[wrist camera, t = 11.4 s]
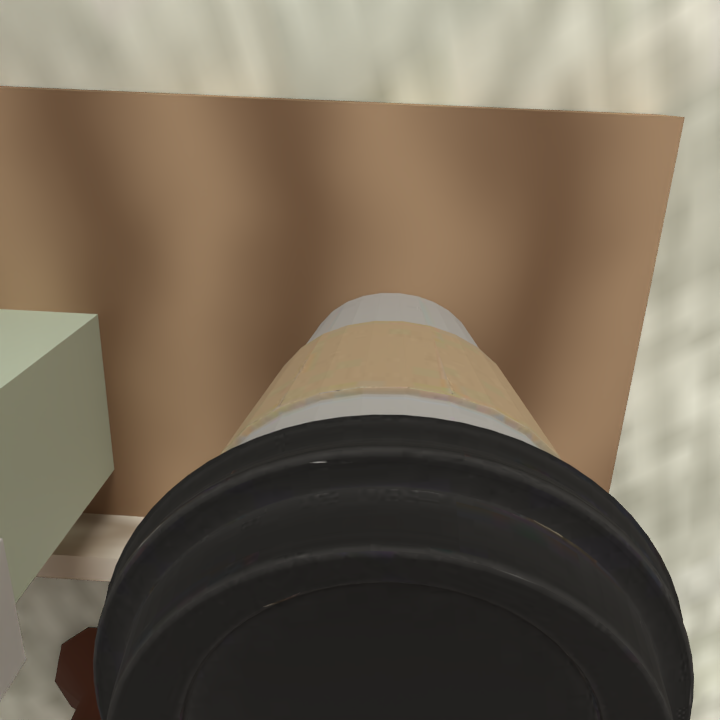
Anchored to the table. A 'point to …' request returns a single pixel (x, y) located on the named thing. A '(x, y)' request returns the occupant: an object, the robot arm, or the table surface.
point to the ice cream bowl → (79, 675)
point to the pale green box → (48, 432)
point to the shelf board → (321, 257)
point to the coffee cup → (390, 555)
